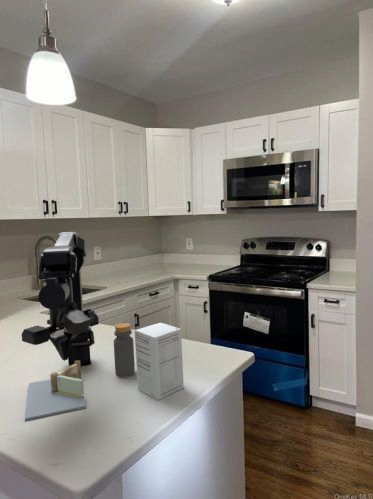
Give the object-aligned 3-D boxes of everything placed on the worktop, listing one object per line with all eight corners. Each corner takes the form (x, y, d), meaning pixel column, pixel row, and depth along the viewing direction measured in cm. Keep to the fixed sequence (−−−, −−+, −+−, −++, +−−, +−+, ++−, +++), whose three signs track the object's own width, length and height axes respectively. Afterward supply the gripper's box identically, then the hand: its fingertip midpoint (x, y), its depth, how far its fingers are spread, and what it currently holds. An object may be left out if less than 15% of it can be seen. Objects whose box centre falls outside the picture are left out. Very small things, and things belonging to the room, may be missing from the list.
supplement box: (163, 377, 106) (161, 321, 104) (184, 388, 99) (182, 328, 97) (136, 389, 99) (133, 329, 98) (157, 401, 92) (154, 337, 91)
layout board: (80, 375, 109) (80, 373, 109) (87, 407, 90) (87, 405, 90) (29, 385, 104) (29, 382, 104) (24, 421, 85) (24, 418, 85)
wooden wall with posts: (82, 377, 108) (81, 360, 107) (55, 394, 98) (54, 376, 97) (77, 376, 108) (75, 359, 108) (49, 393, 98) (48, 375, 98)
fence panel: (57, 390, 98) (56, 376, 97) (60, 388, 99) (59, 374, 98) (81, 396, 94) (80, 381, 94) (84, 394, 95) (83, 379, 95)
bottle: (117, 379, 106) (115, 329, 104) (113, 371, 111) (110, 324, 110) (137, 375, 108) (134, 326, 107) (132, 367, 113) (129, 321, 112)
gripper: (46, 312, 77) (51, 382, 79) (111, 294, 92) (114, 354, 94) (17, 306, 84) (23, 370, 85) (83, 290, 99) (86, 346, 100)
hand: (64, 359), depth 91 cm, fingers closed
